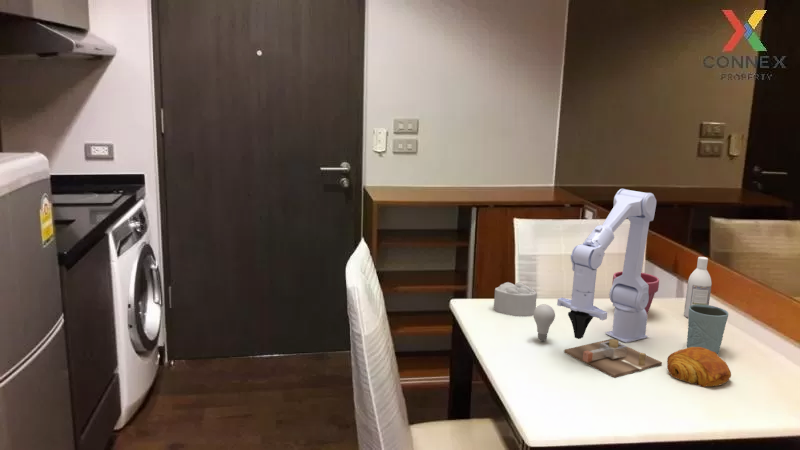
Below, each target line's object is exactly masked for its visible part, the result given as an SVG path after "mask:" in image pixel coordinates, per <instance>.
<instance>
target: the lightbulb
mask: <svg viewBox="0 0 800 450" xmlns="http://www.w3.org/2000/svg"><path fill="white" fill-rule="evenodd" d="M532 317H533V319H534V322H535V324H536V331H537V339H538V340H539V341H540V342H544V341H546V340H547V339H548V334H549V330H550V327H551V325H552V324H553V323H554V321H555V319H556V312H555V310H554V308H553V306H550V305H549V304H547V303H546V304H545V303H544V304H543V303H542V304H539V305H536V308H535V310H534V313H533V316H532Z"/></svg>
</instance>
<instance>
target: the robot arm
mask: <svg viewBox="0 0 800 450" xmlns="http://www.w3.org/2000/svg"><path fill="white" fill-rule="evenodd" d="M656 207H657V199H656V196H655V195H654V193H652V192H643V191H636V190H630V189H626V188H620V189H619V190H617V192H616V193H615V195H614V197H613V208H612V209H611V210H610V212H609V214H608V215H607V217H606V218H605V219H604V222H603V223H602V225H601V224H600V225H599V224H598V225H596V226H595V227H594V229H592V231H591V232H590V234H589V235H588V236H587V238H586V239H585V240H584V242H582V243H581V244H578V245H576V246H574V247H573V249H572V252H571V255H570V262H571V265H572V268H571V270H572V271H573V281H572V290H571V291H572V292H571V299H570V298H566V297H559V298H557V302H556V303H557V304H556V305H557V307H564V308H567V309H570V311H569V312H568V313H567V316H568V318H569V320H570V323H571V325H572V329H573V335H574V336H573V337H574V338H575V339H577V340H581V339H583V338H584V335H585V333H586V330H587V327H588V326H589V324H590V322H591V321H592V320H593V318H594V317H595V318H597V319H599V321H600V320H601V321H605V320H607V318H608V313H609V312H608V311H606V310H603V309H601V308H599V307H597V306H596V305H594V303H595V302H594V300H595V291H596V280H597V271H598V269H599V267H601V265H602V263H603V259H604V257H605V254H606V253H605V251H606V250H607V249H608V248H609V246H610V245H611V244H612V242H614V239H615V235H614V232H615V231H616V230H617V229H618V228H619V227H620V226H621V225H622V224H623V222H625V221H626V219H628V221H629V222H630V223H629V228H628V237H627V242H626V248H625V253H624V254H625V255H624V262H623V267H622V271H623V273H622V275H621V276H619V277H617V278H615V279H614V281H613V280H612V282H613V285H612V284H611V285H612V286H611V287H610V289H609V290H610V291H609V293H608V295H609V297H608V298H609V300H610V302H611V303H612V307H614V311H613V312H614V313H613V322H612V329H611V330H609V331H605V335H608V336H610V337H611V338H613V339H616V340H618V341H621V342H623V343H625V344H626V343H631V342H634V341H640V340H643V339H648V338H649V337H648V336H649V335H646V333H647V332H646V331H647V324H648V314H647V313H646V311H645V309H644V308H645V307H646V306H647V304H648V301H649V294H648V289H649V288H648V287H649V285H648V284H647V283H646V282H645V281H644V280H643V279H642V278H641V273H642V270H643V264H644V258H645V252H646V246H647V238H648V233H649V227H650V222H653V221H654V218H655V215H656V214H655V212H656Z"/></svg>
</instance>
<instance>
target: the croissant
mask: <svg viewBox="0 0 800 450" xmlns="http://www.w3.org/2000/svg"><path fill="white" fill-rule="evenodd" d="M666 363H667V364H666V367H667V371H668V373H669V374H670V375H671V377H673V378H674V379H677V380H680V381H684V382H687V383H689V384H695V385H696V386H698V387H699V386H700V387H703V388H705V387H708V388H709V387H718V386H722V385H723V384H726V383H727V382H729V381H730V378H731V377H732V372H731V370H730V367H729V365H728V364H727V363H726V361H725V360H723V359H722V358H721V357H720V356H719V354H718V355H717V353H715V352H713V351H710V350H708V349H705V348H702V347H689V348H687V347H686V348H682V349H679V350H676V351H674V352H671V353H670V354H669V355H668V356H667V359H666Z"/></svg>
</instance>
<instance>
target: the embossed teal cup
mask: <svg viewBox="0 0 800 450" xmlns="http://www.w3.org/2000/svg"><path fill="white" fill-rule="evenodd" d="M728 317H729V312H728V311H727V310H726V309H724V308H721V307H718V306H714V305H710V304H709V305H701V304H696V305H691V306H689V318H687V319H688V321H687V324H688V325H687V337H686V338H687V339H686V348H689V347H702V348H705V349H708V350H710V351H713V352H715V353H717V355H718V356H719V354H720V352H721V351H720V350H721V345H722V342H723V337H724V333H725V329H726V324H727V321H728Z"/></svg>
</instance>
